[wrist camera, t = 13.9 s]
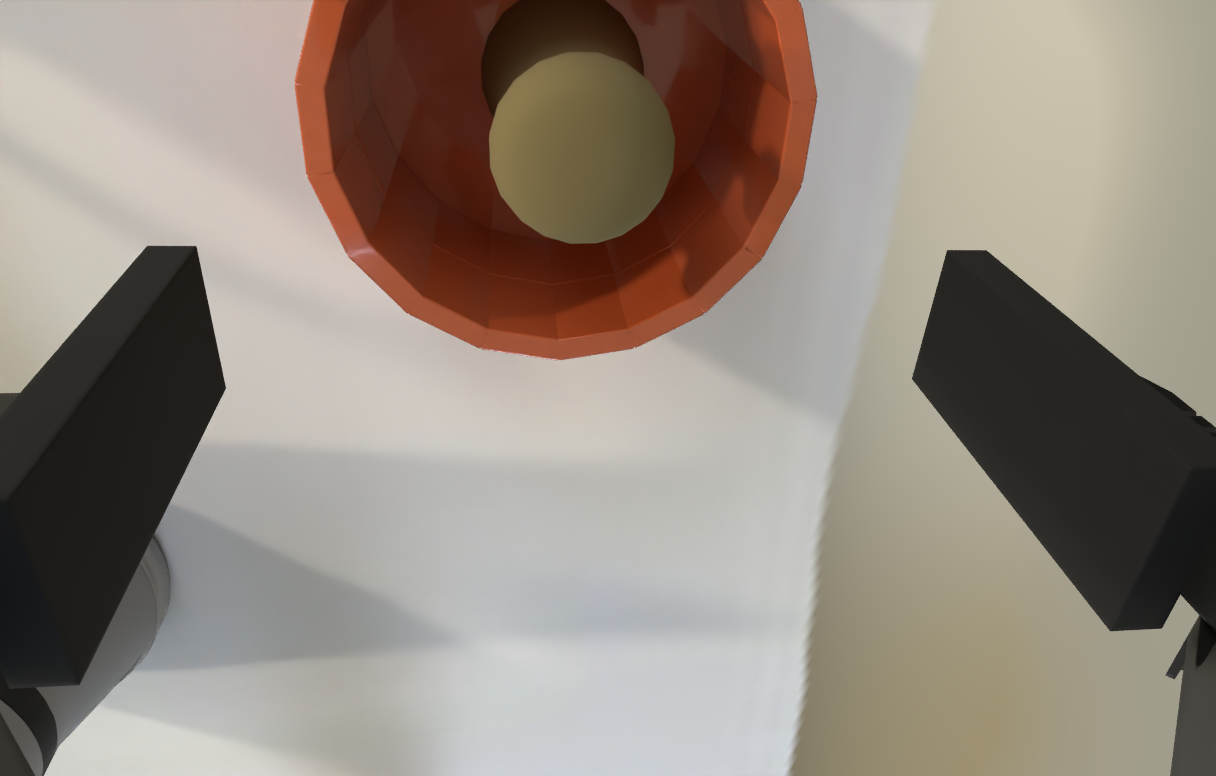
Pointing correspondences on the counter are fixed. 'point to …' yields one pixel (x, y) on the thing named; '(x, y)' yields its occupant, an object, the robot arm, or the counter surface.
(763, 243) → the pot
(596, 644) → the counter surface
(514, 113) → the cork
